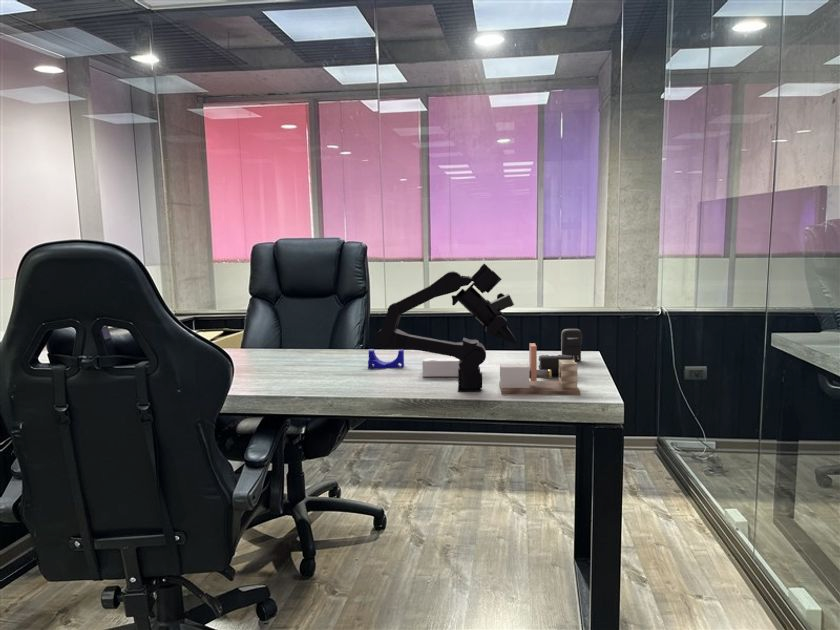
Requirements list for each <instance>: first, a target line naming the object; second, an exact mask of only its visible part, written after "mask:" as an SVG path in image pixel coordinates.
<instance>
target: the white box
mask: <svg viewBox="0 0 840 630" xmlns="http://www.w3.org/2000/svg"><path fill="white" fill-rule="evenodd" d="M477 342H479V340H477ZM421 363H422V377H458V367H459V359H457V358H455V357H430V358H429V357H427V358H426V357H425V358H423V360H422V362H421Z"/></svg>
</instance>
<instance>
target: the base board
mask: <svg viewBox="0 0 840 630" xmlns="http://www.w3.org/2000/svg"><path fill="white" fill-rule="evenodd" d="M499 389H500V392H501V395H502V394H545V396H546V394H550V395H551V394H564V395H563V396H567V395H574V396H575V395H576V396H577V395H578V396H579V395H581V390H580V389H579V387H578V386H577V388H561V386H560V385H559V380H537V381H531V380H529V388H501V386H500V385H499ZM565 394H566V395H565Z"/></svg>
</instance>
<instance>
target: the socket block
mask: <svg viewBox="0 0 840 630" xmlns="http://www.w3.org/2000/svg"><path fill="white" fill-rule="evenodd" d="M558 381H559V385H560V386H561V388H577V387H578V362H577V361H576V362H575V361H574V360H559V376H558Z"/></svg>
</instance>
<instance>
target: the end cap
mask: <svg viewBox="0 0 840 630" xmlns="http://www.w3.org/2000/svg"><path fill="white" fill-rule="evenodd" d="M537 360H538V362H539V364H538V365H537V367H538V370H551V371H552V377H559V360H573V357H572V356H571V355H562V354H558V355H549V354H545V355H544V354H540V355H539V357H538V359H537Z"/></svg>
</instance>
